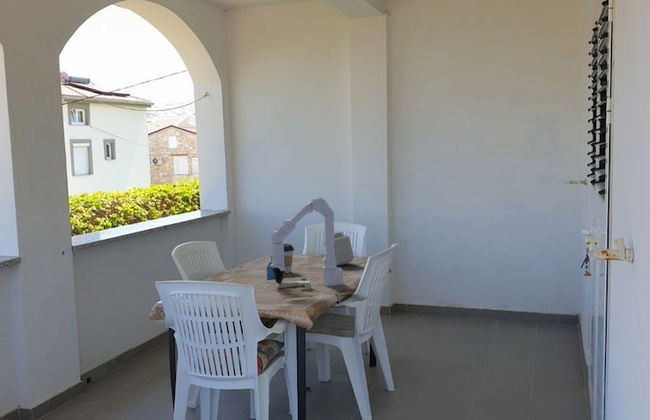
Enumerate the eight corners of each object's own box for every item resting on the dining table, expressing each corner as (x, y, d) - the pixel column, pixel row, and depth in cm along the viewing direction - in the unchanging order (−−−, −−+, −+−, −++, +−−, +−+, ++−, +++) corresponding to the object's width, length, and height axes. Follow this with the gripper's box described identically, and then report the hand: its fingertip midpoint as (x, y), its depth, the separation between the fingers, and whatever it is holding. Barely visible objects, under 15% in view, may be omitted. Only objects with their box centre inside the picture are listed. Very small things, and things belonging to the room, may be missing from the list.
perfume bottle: (271, 277, 321) (270, 254, 320) (282, 277, 319) (281, 255, 318) (267, 279, 315) (266, 256, 314) (278, 280, 313) (277, 257, 312)
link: (306, 284, 296) (306, 280, 295) (308, 285, 292) (308, 281, 292) (276, 286, 291) (276, 282, 290) (278, 288, 287) (278, 284, 287)
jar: (319, 267, 345) (318, 223, 342) (323, 262, 359) (322, 220, 357) (352, 267, 342) (352, 223, 339) (355, 262, 356) (354, 220, 354)
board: (309, 286, 298) (309, 276, 297) (321, 293, 282) (321, 283, 281) (272, 289, 291) (272, 280, 291) (281, 297, 275) (281, 287, 275)
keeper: (299, 287, 289) (299, 280, 289) (311, 287, 288) (310, 280, 288) (298, 290, 285) (297, 282, 284) (309, 290, 284) (309, 282, 284)
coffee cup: (277, 270, 339) (276, 243, 338) (297, 270, 337) (296, 243, 335) (271, 274, 328) (270, 246, 327) (291, 274, 326) (291, 247, 324)
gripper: (265, 253, 299) (266, 280, 300) (274, 258, 285) (275, 286, 286) (279, 252, 301) (280, 279, 303) (288, 257, 288) (289, 285, 289)
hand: (278, 282), depth 295 cm, fingers closed
